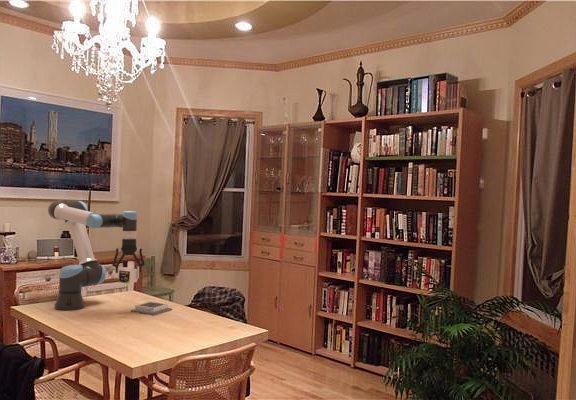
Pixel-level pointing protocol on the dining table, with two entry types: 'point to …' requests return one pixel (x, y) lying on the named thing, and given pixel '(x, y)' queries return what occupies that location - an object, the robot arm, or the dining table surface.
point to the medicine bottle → (128, 273)
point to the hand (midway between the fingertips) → (128, 278)
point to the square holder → (151, 308)
